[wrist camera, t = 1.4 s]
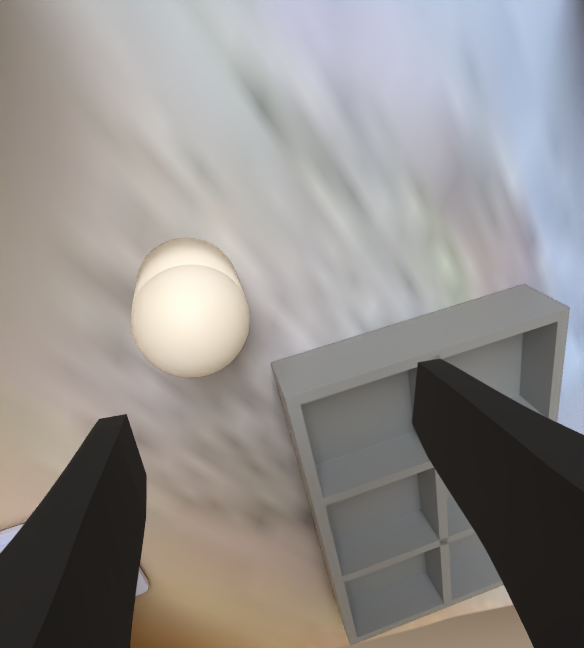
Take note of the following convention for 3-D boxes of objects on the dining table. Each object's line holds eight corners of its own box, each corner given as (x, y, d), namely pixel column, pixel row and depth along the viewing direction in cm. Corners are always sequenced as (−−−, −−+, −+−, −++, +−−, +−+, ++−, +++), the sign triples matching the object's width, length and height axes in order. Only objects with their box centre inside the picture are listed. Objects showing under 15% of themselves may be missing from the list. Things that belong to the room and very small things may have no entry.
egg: (156, 340, 21) (153, 416, 16) (121, 253, 19) (104, 308, 14) (247, 314, 22) (271, 379, 17) (222, 226, 20) (241, 270, 15)
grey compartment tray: (335, 600, 34) (350, 645, 31) (271, 362, 23) (285, 398, 20) (511, 532, 35) (540, 570, 32) (524, 284, 25) (569, 307, 22)
